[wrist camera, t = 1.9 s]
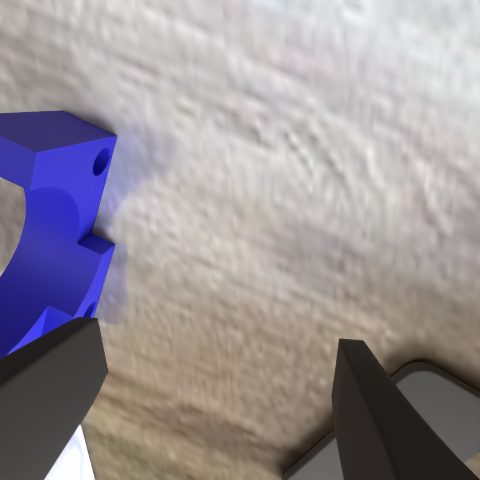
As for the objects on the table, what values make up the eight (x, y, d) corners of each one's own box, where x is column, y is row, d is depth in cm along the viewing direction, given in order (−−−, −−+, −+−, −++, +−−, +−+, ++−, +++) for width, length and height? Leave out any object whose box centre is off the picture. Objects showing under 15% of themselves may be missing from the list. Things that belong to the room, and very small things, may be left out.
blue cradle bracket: (92, 319, 22) (27, 391, 17) (28, 291, 22) (-59, 354, 16) (144, 148, 17) (76, 170, 12) (62, 110, 17) (-45, 115, 12)
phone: (274, 489, 25) (419, 362, 19) (275, 478, 26) (414, 352, 19) (358, 533, 25) (524, 424, 19) (356, 521, 26) (516, 412, 20)
